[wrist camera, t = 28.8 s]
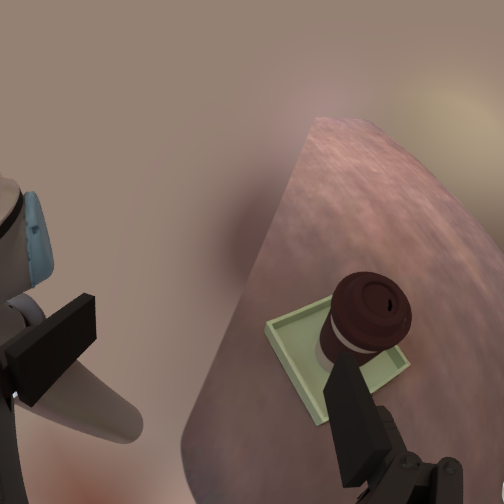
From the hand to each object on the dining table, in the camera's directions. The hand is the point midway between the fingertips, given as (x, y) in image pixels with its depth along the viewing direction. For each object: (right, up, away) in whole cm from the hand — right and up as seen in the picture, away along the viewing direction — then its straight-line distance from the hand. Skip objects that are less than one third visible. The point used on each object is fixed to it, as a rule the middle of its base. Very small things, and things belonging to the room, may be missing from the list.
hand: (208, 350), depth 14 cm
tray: (+15, -10, +26) cm, 32 cm away
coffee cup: (+15, -10, +26) cm, 32 cm away
